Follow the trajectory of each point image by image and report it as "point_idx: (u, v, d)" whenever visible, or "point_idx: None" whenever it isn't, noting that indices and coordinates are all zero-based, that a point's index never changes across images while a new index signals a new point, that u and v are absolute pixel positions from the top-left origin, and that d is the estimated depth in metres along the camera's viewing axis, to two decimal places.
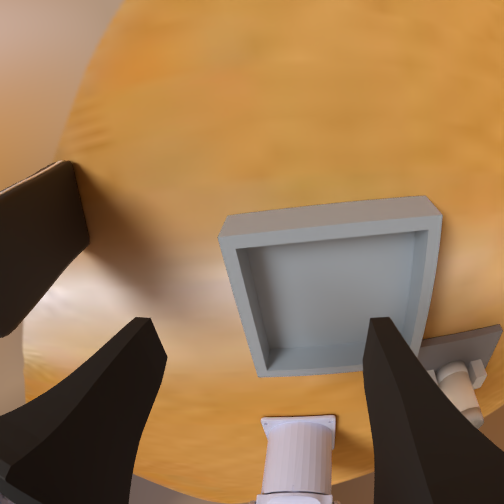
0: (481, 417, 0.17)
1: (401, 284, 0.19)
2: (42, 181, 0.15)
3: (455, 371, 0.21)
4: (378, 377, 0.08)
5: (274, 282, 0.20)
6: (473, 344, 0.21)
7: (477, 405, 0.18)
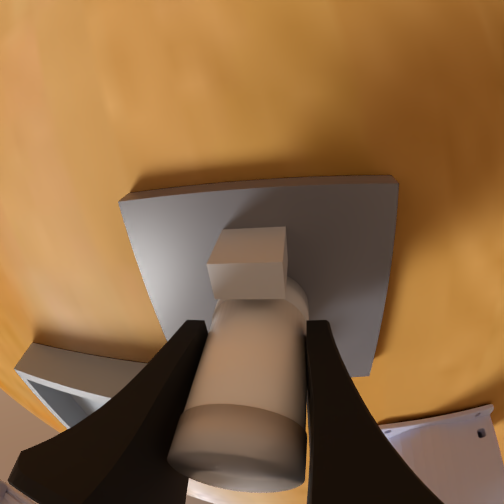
0: (173, 447, 0.06)
1: None
2: None
3: None
4: (308, 381, 0.08)
5: None
6: (164, 275, 0.11)
7: (190, 403, 0.07)
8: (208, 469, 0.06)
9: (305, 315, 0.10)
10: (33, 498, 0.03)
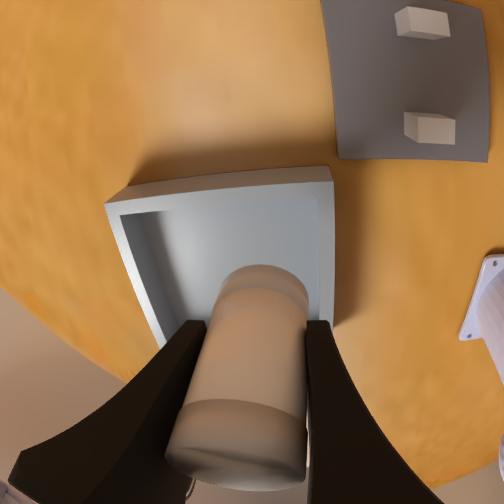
0: (173, 442, 0.06)
1: None
2: None
3: None
4: (308, 381, 0.08)
5: None
6: (349, 43, 0.12)
7: (190, 397, 0.07)
8: (208, 466, 0.06)
9: (307, 313, 0.10)
10: (33, 498, 0.03)
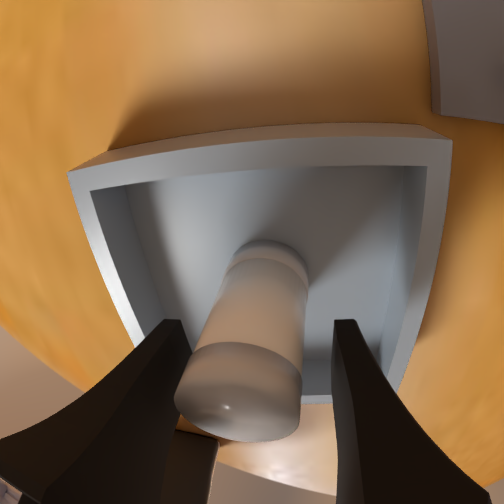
0: (182, 381, 0.07)
1: (254, 170, 0.11)
2: None
3: None
4: (339, 380, 0.08)
5: None
6: None
7: (200, 345, 0.08)
8: (212, 407, 0.07)
9: (305, 283, 0.11)
10: (7, 481, 0.03)
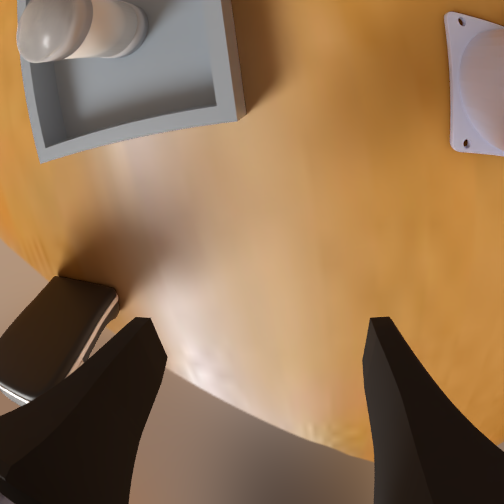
0: (25, 14, 0.07)
1: None
2: (35, 299, 0.20)
3: None
4: (378, 377, 0.08)
5: (114, 102, 0.15)
6: None
7: None
8: (33, 23, 0.07)
9: (136, 11, 0.11)
10: None
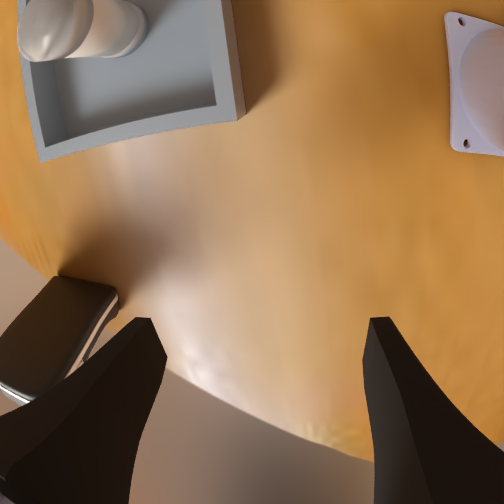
0: (25, 12, 0.07)
1: None
2: (35, 298, 0.20)
3: None
4: (378, 377, 0.08)
5: (113, 102, 0.15)
6: None
7: None
8: (33, 22, 0.07)
9: (136, 11, 0.11)
10: None
